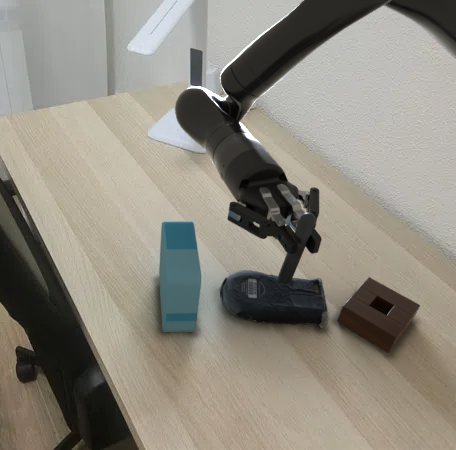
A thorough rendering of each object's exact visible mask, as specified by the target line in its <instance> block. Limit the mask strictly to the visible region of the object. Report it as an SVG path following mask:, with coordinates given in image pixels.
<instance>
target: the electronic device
mask: <svg viewBox="0 0 456 450" xmlns="http://www.w3.org/2000/svg"><path fill="white" fill-rule="evenodd" d="M218 290H219V297H220V302H221V303H222V305H223V306H224V307H225V309H226V310H228V312H230V313H231V314H232V315H233V316H235V317H237V318H240V319H242V320H248V321H251V322H252V321H253V322H256V323H261V324H277V325H278V324H279V325H308V324H310V325H312V324H314V325H317V326H319V327H320V329H324V327H326V326H327V325H328V323H329V320H330V317H329V313H328V306H327V301H326V295H325V289H324V285H323V279H322V277H316V278H312V279H306V278H299V277H298V278H297V277H293V278H292V280H291V282H290V283H288V284H282V283H281V282H280V281H279V279H278V275H274V274H267V273H263V272H260V271H255V270H249V269H247V270H244V269H243V270H242V269H241V270H238V271H235V272H233V273H230V274H229V275H227V276H226V277H225V278H224V280H223V281H222V283H221V286H220V287H219V289H218Z"/></svg>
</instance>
